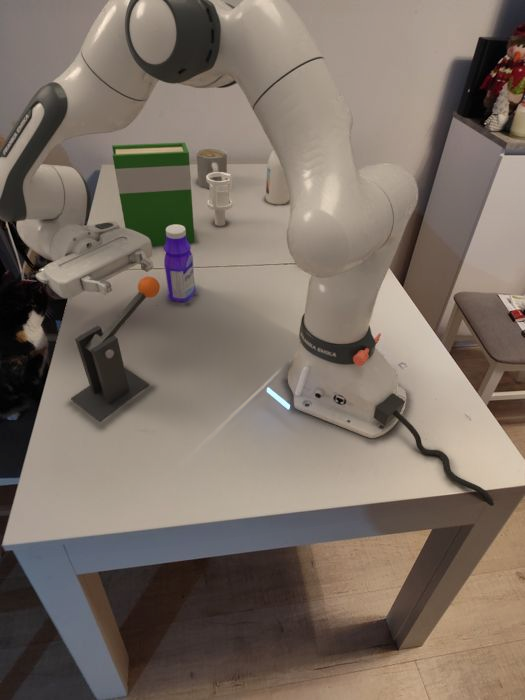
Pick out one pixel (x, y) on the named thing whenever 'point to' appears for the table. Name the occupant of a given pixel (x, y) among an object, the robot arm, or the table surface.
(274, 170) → the milk bottle
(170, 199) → the hardback book
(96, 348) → the dark grey lever stand
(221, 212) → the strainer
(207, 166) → the coffee mug
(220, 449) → the table surface
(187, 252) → the bottle
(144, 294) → the switch
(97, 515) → the table surface
